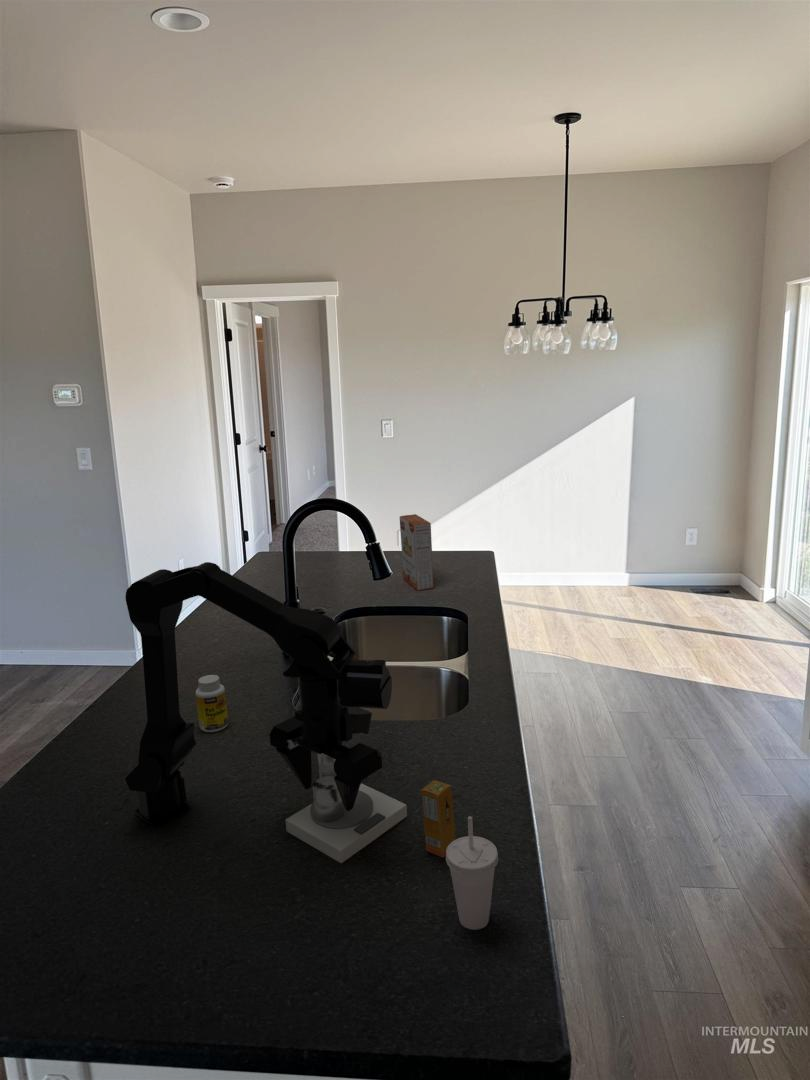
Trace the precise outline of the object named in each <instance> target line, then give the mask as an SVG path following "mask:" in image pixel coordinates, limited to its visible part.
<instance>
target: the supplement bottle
mask: <svg viewBox="0 0 810 1080" xmlns="http://www.w3.org/2000/svg"><path fill="white" fill-rule="evenodd" d="M220 680H221V679H220V677H219V676H218V675H217V674H209V675H204V676H202V677H199V678H198V680H197V681H198V682H197V683H198V687H197V689H196V690H195V701H196V707H197V716H198V723H199V724H198V725H199V729H200V730H201V731H203V732H205V733H215V732H219V731H221V730H224V729H225V728H226V727H227V726H228V725H229V717H228V709H227V708H228V706H227V697H226V689H225V686H224V685H223V684H221V681H220Z"/></svg>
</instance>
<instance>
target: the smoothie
mask: <svg viewBox="0 0 810 1080" xmlns="http://www.w3.org/2000/svg"><path fill="white" fill-rule="evenodd" d="M473 824H474V823H473V816H470V815H469V816H468V817H467V829H468V831H467V832H468V836H462V837H459V838H455V839H456V840H454V841H453V842H452V843H450V844H449V846H448V847H447V850H446V856H445V861H446V864H447V866H448V867H449V870H450V875H451V881H452V887H453V892H454V897H455V903H456V908H457V913H458V919H459V923H460V924H461V925H462V927H464V928H465V929H468V930H471V931H473V930H474V931H475V930H476V931H477V930H481V929H483V928H485V927H486V926H487V925H488V924H489V922H490V921H489V920H490V915H491V914H490V912H491V903H492V895H493V888H494V887H493V886H494V876H495V868H496V866H497V865H498V863H499V855H498V849H497V847H496V845H495V844H494V843H493V842H492V841H491V840H488V839H487V838H484V837H482V836H475V835H474V832H473V831H474V829H473V827H474V825H473Z"/></svg>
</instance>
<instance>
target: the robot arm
mask: <svg viewBox="0 0 810 1080" xmlns="http://www.w3.org/2000/svg"><path fill="white" fill-rule="evenodd" d="M196 597H201V598H203V599H205V600H206V601H209V602H210V603H212V604H214V605H215V606H218V607H219V608H221V609H222V610H224V611H226V612H228V613H229V614H231V615H233V616H235V617H237V618H239V619H241V620H243V621H245V622H246V623H247V624H250V625H251V626H253V627H255V628H257V629H258V630H260V631H262V632H264V633H265V634H267V635H268V636H270V638H272V639H273V640H274V642H275V643H276V645H277V646H278V648H279V650H281V651H282V652H283V653H285V654H286V655H287V656H288V657H289V658H291V659H292V661H291V663H290V665H288V666H287V668H286V669H285V670H284V671H283V672H282V676H283V677H285V678H297V680H298V681H297V682H298V692H299V693H298V694H299V703H300V704H299V705H300V709H299V710H296V711H295V712H294V716H292V717H290V718H287V719H286V720H284V721H282V722H279V723H277V724H276V725H273V727H272V729H271V730H270V732H269V742H270V746H272V747H274V748H275V750H276V752H277V753H279V755H280V756H281V757H282V759H283V760H284V761H285V762H286V764H287V765H288V767H289V768H290V770H291V771H292V773H293V774H294V775H295V778H296V779H298V782H299V783H300V785H301V786H302V787H303V789H304V790H308V789H311V787H312V784H313V783H312V780H313V779H312V777H313V775H312V774H313V773H312V772H313V771H312V752H313V753H316V754H317V753H318V754H322V753H323V754H325V755H328V756H330V757H332V758H334V759H336V760H335V762H334V771H335V773H336V775H337V776H335V777H334V780H335V783H336V786H337V788H338V791H339V794H340V797H341V800H342V802H343V805H344V807H345V809H346V811H350V810H351V809H353V806H354V803H355V800H356V797H357V794H358V791H359V788H360V785H361V784H362V783H363V780H365V779H366V778H368V777H369V776H371V775H373V774H374V773H376V772H377V771H379V770H381V769H382V768H383V757H382V752H381V751H379V750H377V749H376V748H373V747H370V746H368V745H366V744H364V743H361V742H359V743H357V744H355V745H354V746H352V747H347V746H346V745H343V742H348V741H350V740H352V739H353V735H354V734H364V735H368V734H369V733H370V727H371V722H372V716H373V712H372V711H370V710H366V709H379V710H387V709H388V707H389V705H390V703H391V699H392V691H393V690H392V689H393V678H392V676H391V673H390V669H389V668H388V667H387V664H386V663H387V662H386V660H384V659H374V660H364V659H354V657H356V655H357V654H356V651H355V650H354V649H353V648H352V647H351V645H350V644H349V643H348V642H347V641H346V639H345V638H344V637H343V635H342V634H341V633H340V630H339V628H338V623H337V622H336V621H335V620H334V619H333V618H331V617H330V616H327V615H326V614H323V613H319V612H317V611H314V610H312V609H309V608H302V607H301V608H300V607H292V606H290V605H287V604H285V603H283V602H281V601H279V600H277V599H275V598H274V597H272V596H271V595H268V594H267V593H265V592H262V591H261V590H259V589H257V588H255V587H254V586H252V585H250V584H249V583H247V582H245V581H243V580H242V579H240V578H237V577H236V576H234V575H232V574H230V573H229V572H226V571H225V570H223V569H222V568H221V567H220V566H219V565H218V564H216V563H214V562H209V561H208V562H207V561H206V562H203V563H201V564H199V565H196V566H191V567H190V566H189V567H185V568H183V569H178V570H176V571H175V570H174V571H171V570H169V569H164V568H163V569H159V570H156V571H154V572H151V573H150V574H148V575H146V576H144V577H142V578H140V579H139V580H136V581H135V582H133V583H132V584H131V585H130V586H129V587H128V588H127V589H126V591H125V599H124V600H125V603H126V607H127V612H128V615H129V620H130V622H131V623H132V625H133V626H134V627H135V629H136V631H138V633H139V634H140V640H141V654H142V669H143V680H144V681H143V683H144V695H145V709H146V723H145V726H144V729H143V732H142V735H141V738H140V741H139V746H138V753H137V754H138V755H137V765H136V766H135V767H134V768H133V769H132V771H130V773H129V774H127V776H126V777H125V778H124V780H125V782H126V785H127V786H128V788H129V790H130V791H131V792H132V791H134V792H136V797H137V805H138V808H136V809H135V810H134V814H135V815H136V816H137V817H139V818H140V819H142V820H143V821H144V822H146V823H147V824H148V825H150V826H152V827H153V828H158V827H161V826H162V825H164V824H166V823H168V822H169V821H171V820H173V819H175V818H177V817H179V816H180V815H182V814H184V813H186V812H188V811H190V810H191V805H190V804H189V803H187V799H188V798H187V791H186V783H185V778H184V777H182V774H181V773H182V772H181V771H180V770H179V769H180V768H181V767H183V766H184V765H185V762H186V760H187V758H188V757H189V756H190V755H191V754H192V753H193V748H194V747H196V746H197V742H196V739H195V736H194V735H195V723H194V722H189V723H188V722H186V721H185V720H184V718H183V717H182V715H181V714H180V713H181V712H180V698H179V697H180V696H179V682H178V681H179V680H178V665H177V664H178V663H177V662H178V661H177V649H176V648H177V647H176V626H177V624H178V621H179V619H180V615H181V613H182V609H183V605H184V604H183V603H184V601H186V600H189V599H191V598H196ZM331 653H334V654H335V655H334V656H333V658H332V659H330V658H329V656H330V654H331ZM318 754H317V755H318Z"/></svg>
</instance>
